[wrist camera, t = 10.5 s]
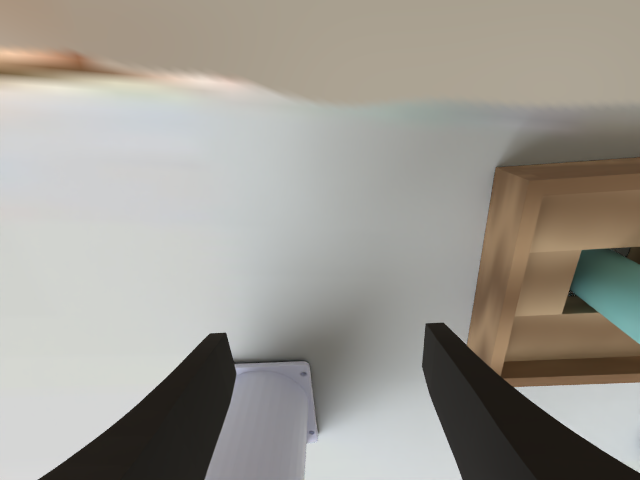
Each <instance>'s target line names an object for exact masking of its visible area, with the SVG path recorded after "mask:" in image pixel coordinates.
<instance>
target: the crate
mask: <svg viewBox="0 0 640 480" xmlns="http://www.w3.org/2000/svg"><path fill="white" fill-rule="evenodd" d="M624 247H631V249H630V251H629V254H628V256H627V258H628V259H630V260H632V261H634V262H636V263H638V264H640V157H637V158H623V159H608V160H594V161H580V162H565V163H551V164H537V165H523V166H508V167H496V169H495V175H494V181H493V187H492V193H491V200H490V206H489V212H488V218H487V224H486V231H485V237H484V243H483V249H482V255H481V261H480V268H479V274H478V280H477V286H476V292H475V299H474V305H473V311H472V317H471V323H470V329H469V336H468V342H467V346H468V347H469V348H470V349H471V350H472V351H473V352H474V353H475V354H476V355H477V356H478V357H480V358H481V359H482V360H483V361H484V362H485V363H486V364H487V365H488V366H489V367H491V368H492V369H493V370H494V371H495V372H496V373H497V374H498V375H500V376H501V377H502V378H503V379H504V380H505V381H507V382H508V383H509V384H510V385H511V386H513V387H525V386H552V385H580V384H608V383H635V382H640V344H639V343H637V342H636V341H635V340H633V339H632V338H631V337H630V336H628V335H627V334H626V333H624V332H623V331H622V330H621V329H619V328H618V327H617V326H616V325H614V324H613V323H612V322H610V321H609V320H608V319H607V318H605V317H604V316H603V315H601V314H600V313H599V312H598V311H596V310H595V309H594V308H592V307H591V306H590V305H589V304H587V303H586V302H585V301H583V300H582V299H581V298H580V297H578V296H568V292H569V289H570V286H571V283H572V280H573V276H574V273H575V270H576V267H577V264H578V260H579V257H580V254H581V251H582V250H588V249H606V248H624ZM567 296H568V297H567Z"/></svg>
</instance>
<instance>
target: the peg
mask: <svg viewBox="0 0 640 480" xmlns="http://www.w3.org/2000/svg"><path fill="white" fill-rule="evenodd" d="M569 290H571V291H572V292H573V293H574V294H576V295H577V296H578V297H580V298H581V299H582V300H583V301H585V302H586V303H587V304H589V305H590V306H591V307H592V308H594V309H595V310H596V311H598V312H599V313H600V314H601V315H603V316H604V317H605V318H607V319H608V320H609V321H610V322H612V323H613V324H614V325H616V326H617V327H618V328H619V329H621V330H622V331H623V332H624V333H626V334H627V335H628V336H630V337H631V338H632V339H633V340H635V341H636V342H637V343H639V344H640V264H638V263H636V262H634V261H632V260H630V259H628V258H626V257H624V256H622V255H621V254H619V253H617V252H615V251H613V250H611V249H609V248H606V249H588V250H582V251H581V254H580V257H579V260H578V264H577V267H576V270H575V273H574V276H573V280H572V283H571V286H570V289H569Z"/></svg>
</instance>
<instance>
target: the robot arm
mask: <svg viewBox="0 0 640 480" xmlns="http://www.w3.org/2000/svg"><path fill="white" fill-rule="evenodd" d="M422 368H423V372H424V375H425V379H426V383H427V387H428V390H429V394H430V397H431V399H432V402H433V405H434V407H435V410H436V412H437V415H438V417H439V420H440V422H441V425H442V427H443V430H444V432H445V435H446V437H447V440H448V443H449V445H450V448H451V450H452V453H453V455H454V458H455V460H456V463H457V465H458V468H459V471H460V474H461V477H462V479H463V480H640V473H638V472H637V471H635V470H633V469H632V468H630V467H628V466H627V465H625V464H623V463H622V462H620V461H618V460H617V459H615V458H613V457H612V456H610V455H609V454H607V453H605V452H604V451H602V450H601V449H599V448H598V447H596V446H595V445H593V444H591V443H590V442H588V441H587V440H585V439H584V438H582V437H581V436H579V435H578V434H576V433H575V432H573V431H572V430H570V429H569V428H567V427H566V426H564V425H563V424H561V423H560V422H559V421H557V420H556V419H554V418H553V417H552V416H550V415H549V414H548V413H546V412H545V411H544V410H542V409H541V408H539V407H538V406H537V405H535V404H534V403H533V402H531V401H530V400H529V399H528V398H526V397H525V396H524V395H522V394H521V393H520V392H519V391H517V390H516V389H515V388H514V387H513V386H511V385H510V384H509V383H508V382H507V381H505V380H504V379H503V378H502V377H501V376H500V375H498V374H497V373H496V372H495V371H494V370H493V369H492V368H491V367H489V366H488V365H487V364H486V363H485V362H484V361H483V360H482V359H481V358H480V357H478V356H477V355H476V354H475V353H474V352H473V351H472V350H471V349H470V348H469V347H468V346H467V345H466V344H465V343H464V342H463V341H462V340H461V339H460V338H459V337H458V336H457V335H456V334H455V333H454V332H453V331H452V330H450V329H449V328H448V327H447V326H446V325H445V324H444V323H426V327H425V338H424V350H423V362H422ZM303 372H305V373H303ZM317 441H318V431H317V423H316V415H315V406H314V398H313V390H312V382H311V373H310V366H309V364H308V363H307V362H305V361H298V362H273V363H249V364H234V361H233V358H232V354H231V350H230V346H229V342H228V338H227V334H226V333H211V334H209V335H208V336H207V337H206V338H205V339H204V340H203V341H202V342H201V343H200V344H199V345H198V346H197V347H196V348H195V349H194V350H193V351H192V352H191V353H190V354H189V355H188V356H187V357H186V358H185V359H184V360H183V362H182V363H181V364H180V365H179V366H178V367H177V368H176V369H175V370H174V371H173V372H172V373H171V374H170V375H169V376H168V377H167V378H166V379H164V380H163V381H162V382H161V383H160V384H159V385H158V386H157V387H156V388H155V389H154V390H153V391H152V392H150V393H149V394H148V395H147V396H146V397H145V398H144V399H143V400H142V401H141V402H140V403H139V404H137V405H136V406H135V407H134V408H133V409H132V410H131V411H129V412H128V413H127V414H126V415H125V416H124V417H122V418H121V419H120V420H119V421H117V422H116V423H115V424H114V425H112V426H111V427H110V428H109V429H107V430H106V431H105V432H104V433H102V434H101V435H100V436H99V437H97V438H96V439H95V440H93V441H92V442H90V443H89V444H88V445H86V446H85V447H84V448H82V449H81V450H80V451H78V452H77V453H75V454H74V455H73V456H71V457H70V458H69V459H67V460H66V461H65V462H63V463H62V464H60V465H59V466H57V467H56V468H55V469H53V470H52V471H50V472H49V473H47V474H46V475H44V476H43V477H41V478H40V479H38V480H304V478H305V461H306V444H307V443H315V442H317Z"/></svg>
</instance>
